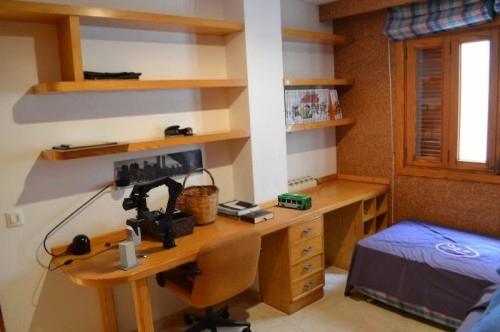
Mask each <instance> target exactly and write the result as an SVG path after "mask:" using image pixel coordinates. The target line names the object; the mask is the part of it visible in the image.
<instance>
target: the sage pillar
mask: <svg viewBox="0 0 500 332" xmlns="http://www.w3.org/2000/svg"><path fill="white" fill-rule="evenodd" d="M118 250H119V251H118V252H119V257H120V258H119V259H120V264H121V266H125V267H130V266H132V265H134V264H136V261H137V255H136V250H135V246H134V242H132V241H127V240H125V241H123V242H120V243H118Z"/></svg>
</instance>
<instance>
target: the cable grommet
mask: <svg viewBox="0 0 500 332" xmlns="http://www.w3.org/2000/svg"><path fill="white" fill-rule="evenodd" d="M147 257H148V253H140V254H137V255H136V259H144V258H147Z"/></svg>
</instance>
